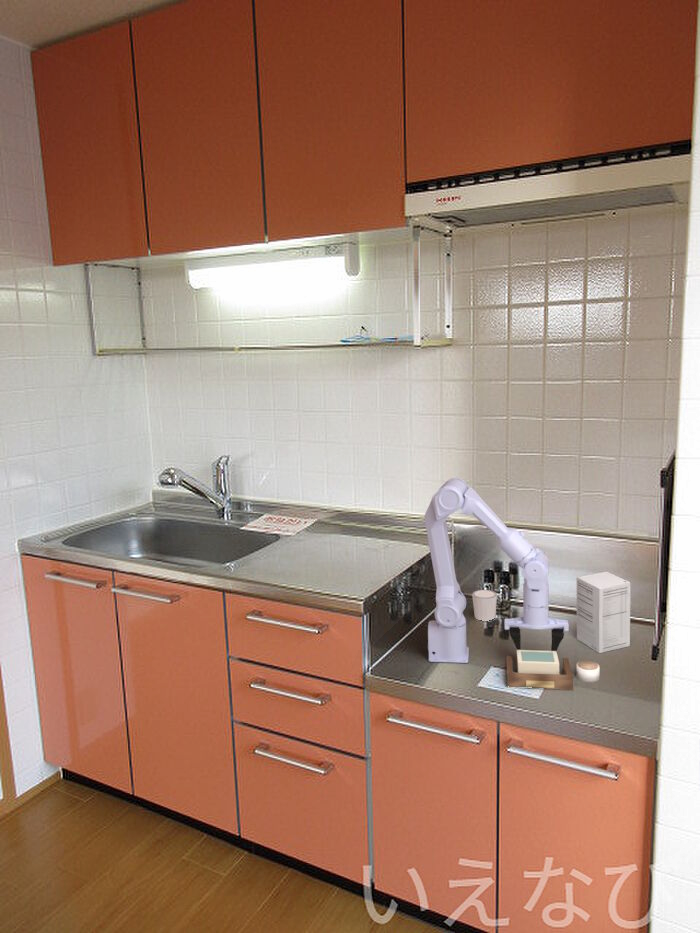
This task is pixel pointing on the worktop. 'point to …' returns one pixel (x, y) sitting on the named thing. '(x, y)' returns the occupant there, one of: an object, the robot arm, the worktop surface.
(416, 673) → the worktop surface
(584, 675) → the salt pot
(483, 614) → the beige tapered cup
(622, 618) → the supplement box
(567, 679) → the display stand
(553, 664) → the carton
